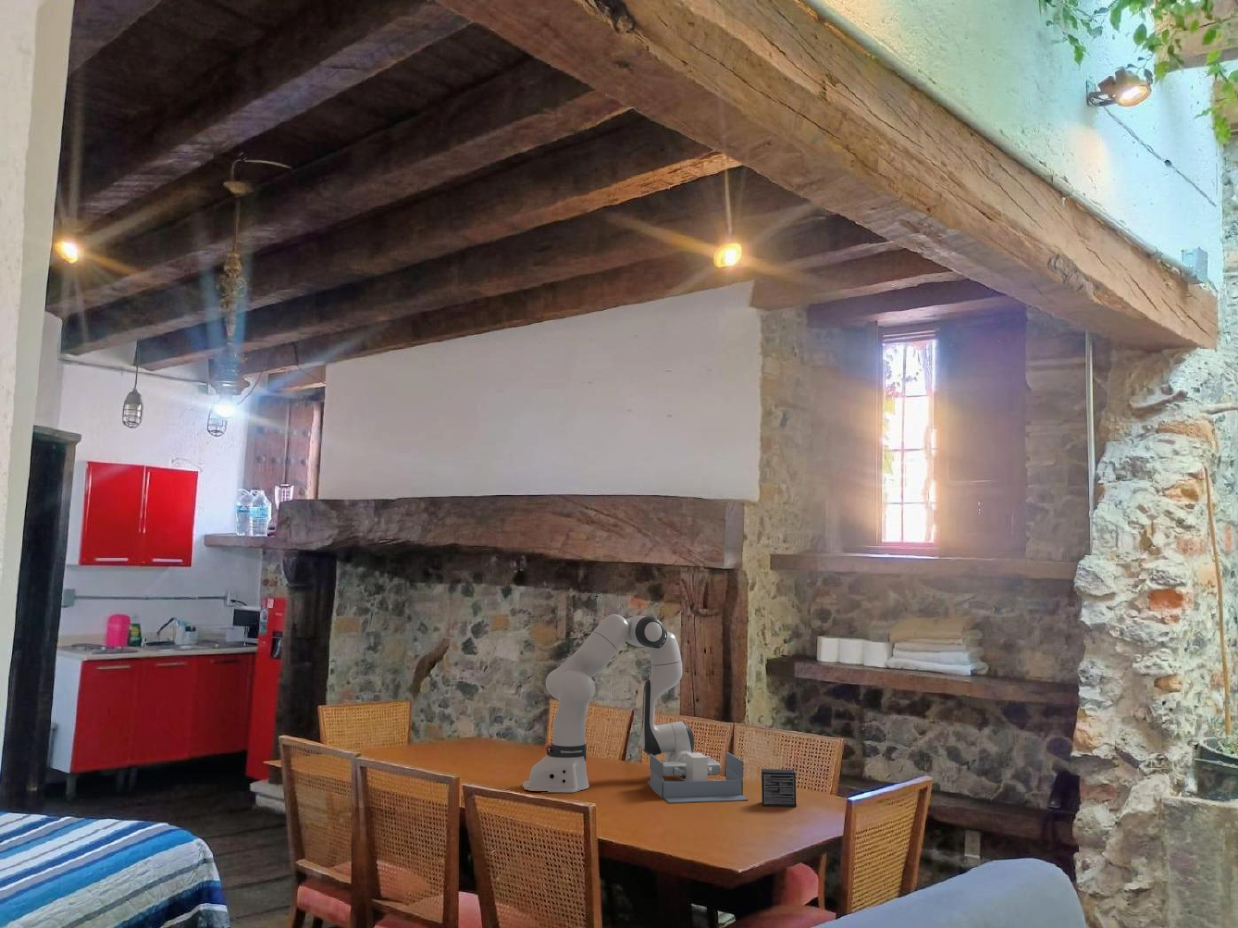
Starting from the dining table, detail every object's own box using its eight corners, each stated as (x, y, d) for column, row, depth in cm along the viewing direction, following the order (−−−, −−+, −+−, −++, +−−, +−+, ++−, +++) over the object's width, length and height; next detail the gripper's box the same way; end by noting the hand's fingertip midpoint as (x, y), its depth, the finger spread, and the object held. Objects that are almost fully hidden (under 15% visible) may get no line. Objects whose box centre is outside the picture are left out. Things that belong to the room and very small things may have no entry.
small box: (795, 802, 306) (794, 768, 307) (796, 807, 299) (796, 772, 300) (761, 801, 307) (761, 767, 308) (762, 806, 300) (762, 771, 301)
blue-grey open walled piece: (666, 803, 303) (666, 767, 304) (644, 782, 334) (644, 749, 335) (750, 800, 308) (750, 764, 309) (721, 779, 339) (721, 747, 340)
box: (692, 795, 315) (692, 757, 316) (685, 789, 323) (685, 752, 325) (707, 794, 315) (707, 757, 317) (700, 789, 324) (700, 752, 326)
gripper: (656, 756, 333) (665, 764, 319) (713, 755, 336) (725, 762, 323) (656, 775, 332) (665, 783, 318) (713, 773, 336) (725, 781, 322)
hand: (696, 773), depth 321 cm, fingers open, 8 cm apart
